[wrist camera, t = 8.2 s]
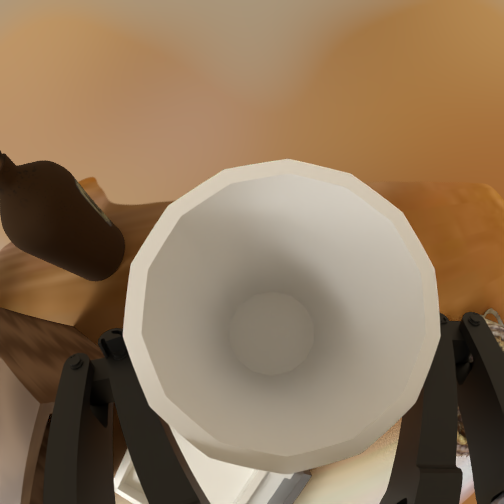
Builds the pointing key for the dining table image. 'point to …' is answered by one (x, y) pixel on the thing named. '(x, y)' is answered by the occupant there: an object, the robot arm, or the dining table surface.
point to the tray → (219, 480)
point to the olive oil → (57, 219)
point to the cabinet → (30, 397)
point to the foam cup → (281, 316)
